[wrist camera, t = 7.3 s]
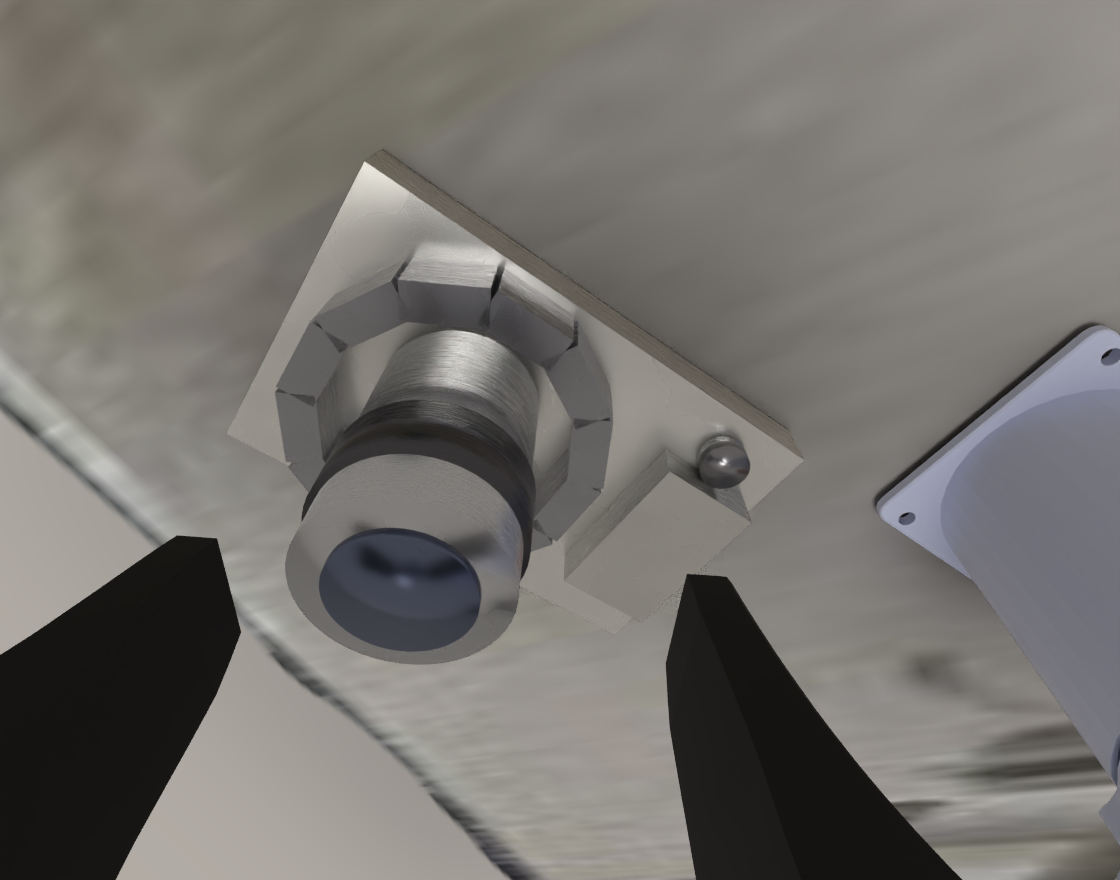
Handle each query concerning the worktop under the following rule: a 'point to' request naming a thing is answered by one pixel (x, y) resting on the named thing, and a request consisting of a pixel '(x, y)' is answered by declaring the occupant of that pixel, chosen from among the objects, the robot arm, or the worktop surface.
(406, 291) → the octagonal collar plate
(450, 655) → the lens
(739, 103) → the worktop surface
